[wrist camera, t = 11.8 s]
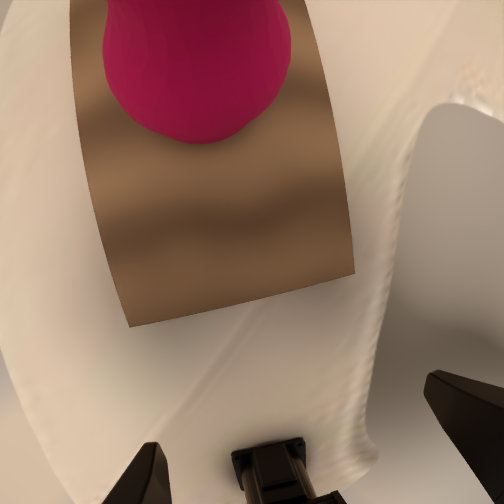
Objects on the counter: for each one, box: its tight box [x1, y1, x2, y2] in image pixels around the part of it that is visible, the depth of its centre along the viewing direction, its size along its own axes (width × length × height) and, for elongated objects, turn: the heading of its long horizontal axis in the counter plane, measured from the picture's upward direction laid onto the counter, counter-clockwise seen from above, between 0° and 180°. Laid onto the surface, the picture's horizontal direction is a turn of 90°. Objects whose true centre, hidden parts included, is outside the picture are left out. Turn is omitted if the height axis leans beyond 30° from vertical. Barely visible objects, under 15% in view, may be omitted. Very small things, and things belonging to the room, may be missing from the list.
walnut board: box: [70, 0, 355, 327], centre depth 17 cm, size 22×14×2 cm, turn 11°
